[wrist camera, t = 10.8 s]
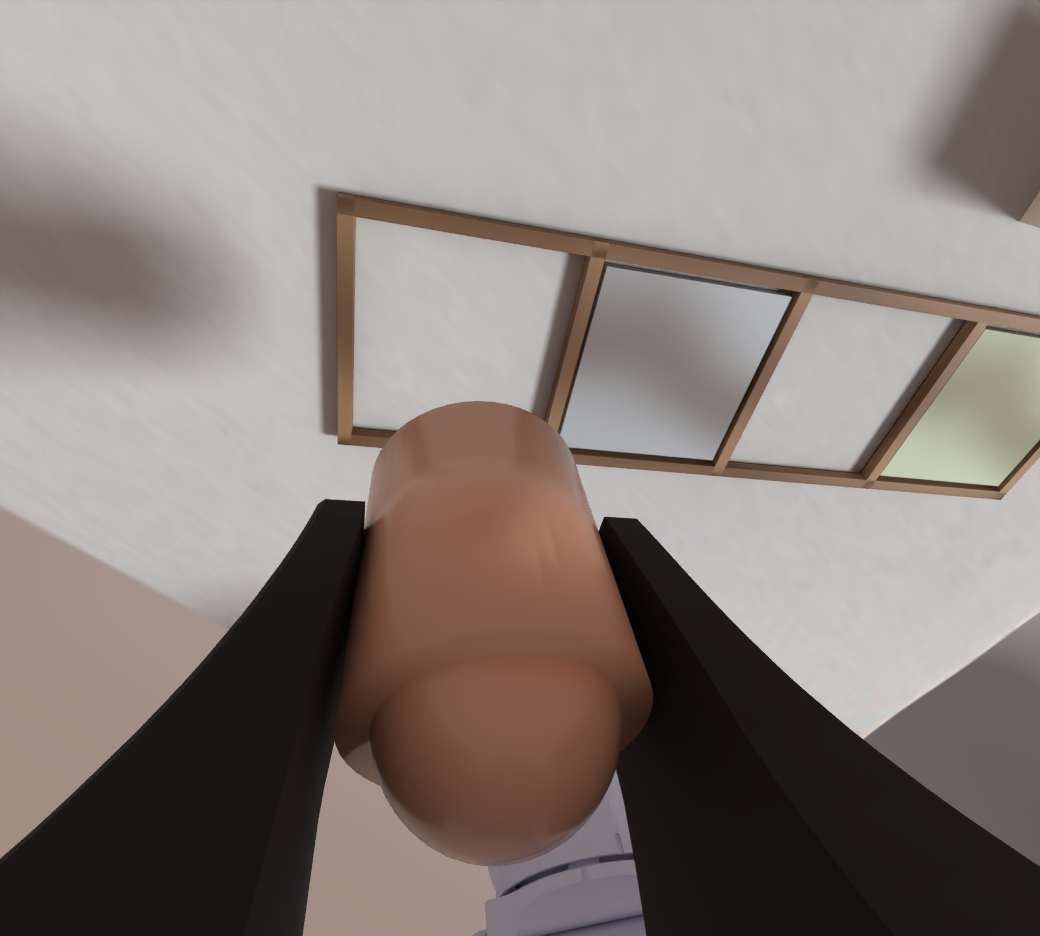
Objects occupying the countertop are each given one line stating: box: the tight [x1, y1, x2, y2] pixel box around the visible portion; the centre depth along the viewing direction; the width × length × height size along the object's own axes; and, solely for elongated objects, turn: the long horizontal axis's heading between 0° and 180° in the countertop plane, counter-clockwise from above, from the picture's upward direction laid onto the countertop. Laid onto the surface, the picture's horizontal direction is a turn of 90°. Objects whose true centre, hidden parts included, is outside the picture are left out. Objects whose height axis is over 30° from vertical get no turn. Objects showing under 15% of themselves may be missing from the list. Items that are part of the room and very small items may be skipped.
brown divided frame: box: [337, 192, 1040, 500], centre depth 18 cm, size 7×26×1 cm, turn 79°
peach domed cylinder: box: [334, 401, 653, 866], centre depth 8 cm, size 4×4×6 cm
